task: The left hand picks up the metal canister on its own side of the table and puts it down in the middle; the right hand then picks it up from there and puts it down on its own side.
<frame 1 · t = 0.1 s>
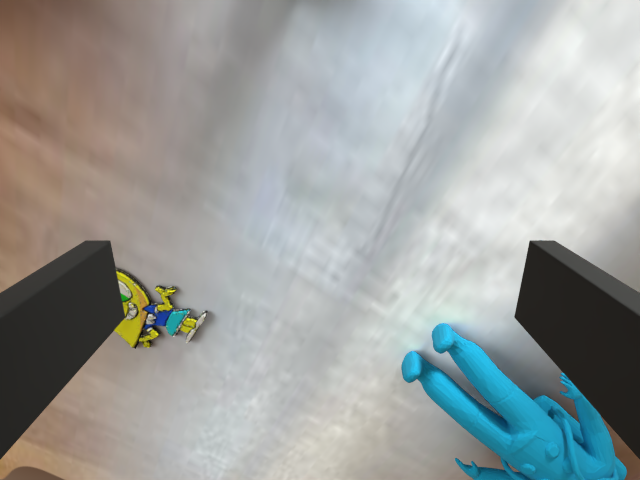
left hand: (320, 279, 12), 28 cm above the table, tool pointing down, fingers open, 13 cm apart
toy: (499, 395, 49), on the table
toy 2: (133, 306, 45), on the table
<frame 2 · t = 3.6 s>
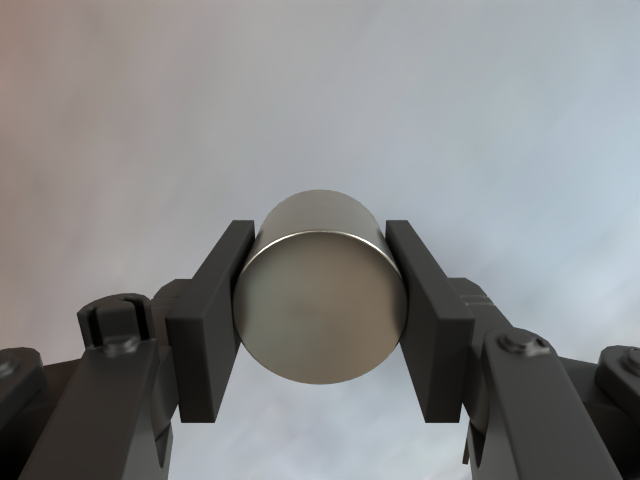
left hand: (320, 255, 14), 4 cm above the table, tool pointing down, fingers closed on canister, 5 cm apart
canister: (320, 251, 15), point 4 cm above the table, touching left hand
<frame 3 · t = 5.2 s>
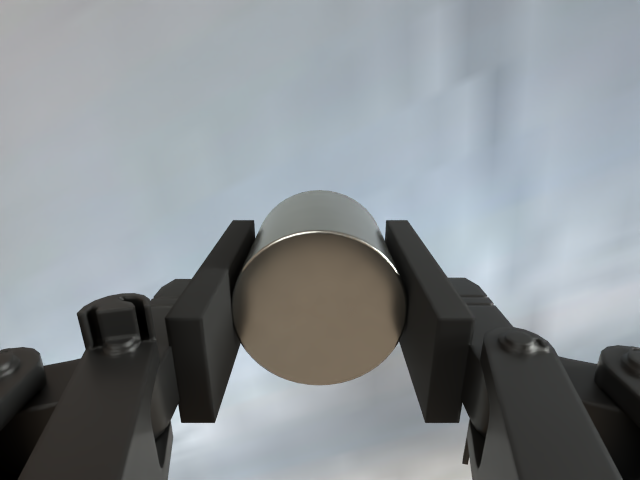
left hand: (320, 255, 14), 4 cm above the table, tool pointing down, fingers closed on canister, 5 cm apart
canister: (319, 251, 15), point 4 cm above the table, touching left hand
when the left hand's fingers open (1 cm above the table, at t = 6.9 s): canister stays where it is, on the table.
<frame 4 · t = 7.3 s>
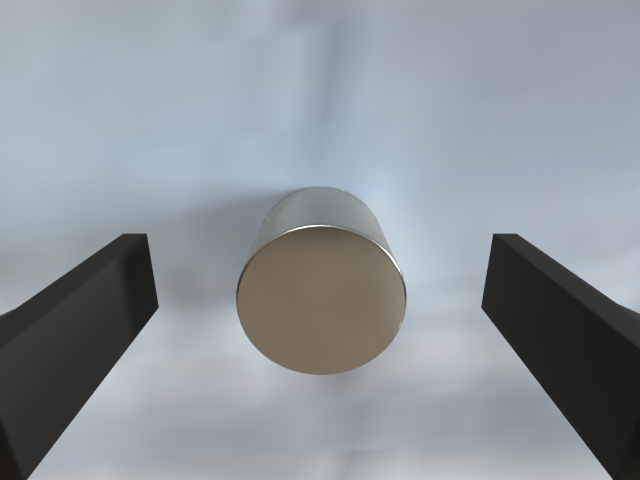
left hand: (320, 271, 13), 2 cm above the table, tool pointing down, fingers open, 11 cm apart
canister: (320, 247, 15), on the table
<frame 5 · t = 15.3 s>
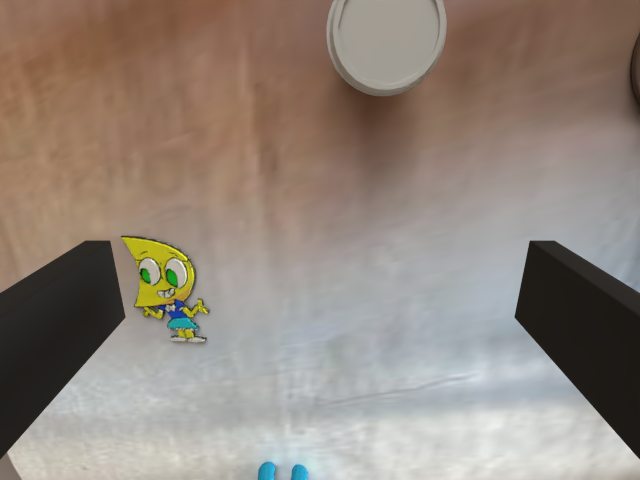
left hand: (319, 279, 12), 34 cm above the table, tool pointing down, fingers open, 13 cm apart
disposable coffee cup: (369, 48, 41), on the table
toy 2: (169, 289, 51), on the table
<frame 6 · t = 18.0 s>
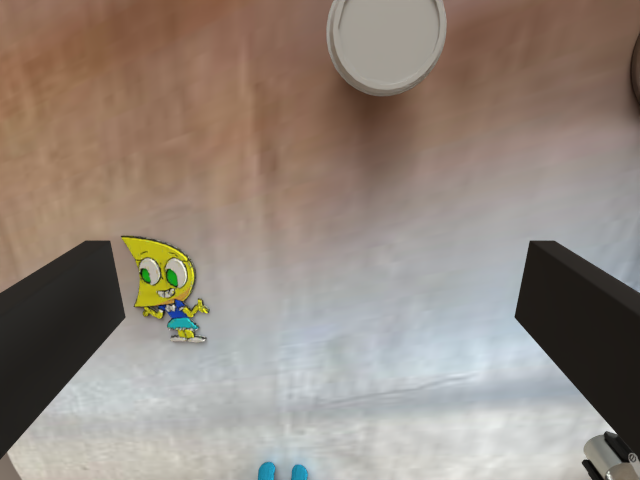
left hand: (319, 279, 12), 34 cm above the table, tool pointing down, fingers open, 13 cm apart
canister: (600, 447, 55), point 4 cm above the table, touching right hand
disposable coffee cup: (369, 48, 41), on the table
toy 2: (169, 289, 51), on the table
when the right hand's fingers open (1 cm above the table, at t = 21.1 s): canister stays where it is, on the table.
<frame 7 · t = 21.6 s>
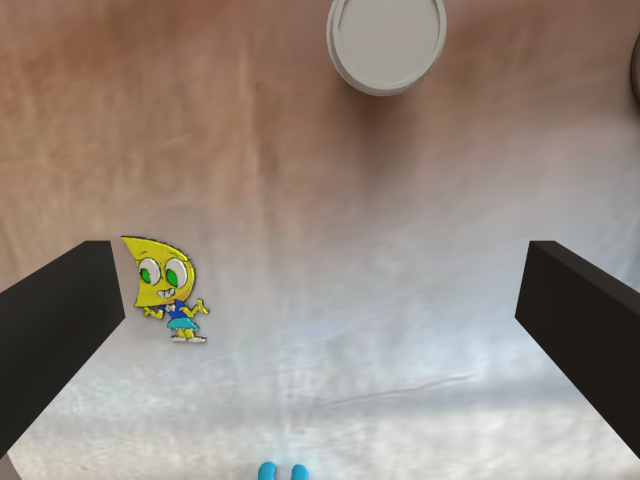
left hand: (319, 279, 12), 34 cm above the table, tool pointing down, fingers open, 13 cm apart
disposable coffee cup: (369, 48, 41), on the table
toy 2: (169, 289, 51), on the table
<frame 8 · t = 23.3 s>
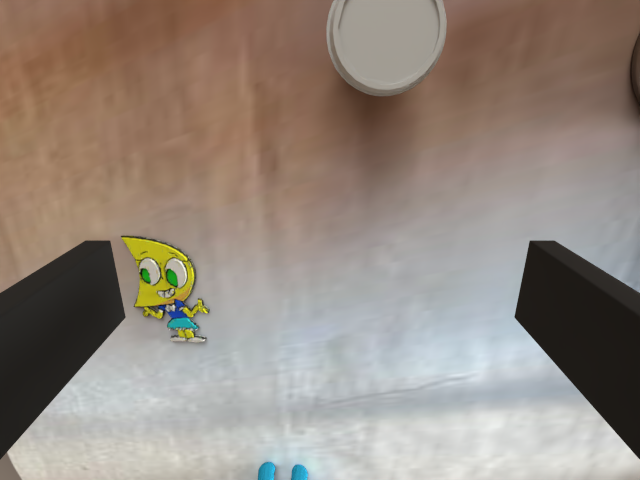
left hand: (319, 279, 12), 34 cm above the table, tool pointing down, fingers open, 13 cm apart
disposable coffee cup: (369, 48, 41), on the table
toy 2: (169, 289, 51), on the table
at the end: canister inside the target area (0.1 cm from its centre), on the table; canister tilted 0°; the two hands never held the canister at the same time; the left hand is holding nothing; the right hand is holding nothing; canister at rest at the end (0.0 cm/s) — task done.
